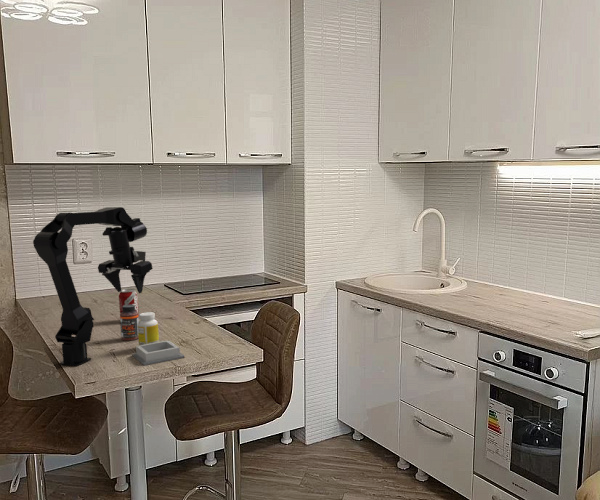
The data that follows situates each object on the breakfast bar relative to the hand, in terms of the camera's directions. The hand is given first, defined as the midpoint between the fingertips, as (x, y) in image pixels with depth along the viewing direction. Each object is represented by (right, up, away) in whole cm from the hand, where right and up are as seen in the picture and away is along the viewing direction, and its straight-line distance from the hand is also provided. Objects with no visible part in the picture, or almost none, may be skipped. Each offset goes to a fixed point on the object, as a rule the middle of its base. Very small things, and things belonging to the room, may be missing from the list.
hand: (130, 292), depth 188 cm
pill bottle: (+8, -17, -6) cm, 20 cm away
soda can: (-9, -13, +31) cm, 35 cm away
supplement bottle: (-1, -16, +6) cm, 17 cm away
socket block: (+13, -18, -16) cm, 27 cm away
